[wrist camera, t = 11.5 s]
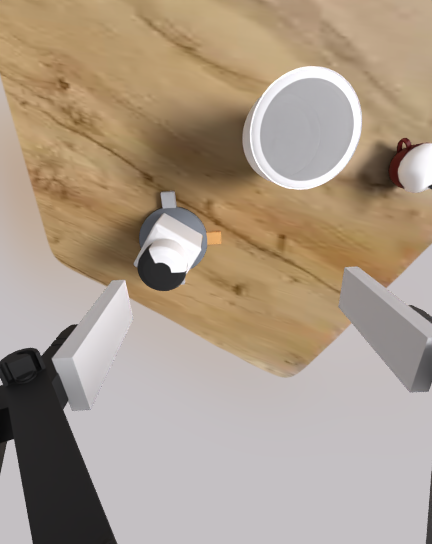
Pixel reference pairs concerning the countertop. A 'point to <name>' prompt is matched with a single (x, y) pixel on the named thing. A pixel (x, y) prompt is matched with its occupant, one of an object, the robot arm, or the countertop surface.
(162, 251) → the medicine bottle
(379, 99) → the countertop surface
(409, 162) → the cocoa
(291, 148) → the jar
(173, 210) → the pad
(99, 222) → the countertop surface
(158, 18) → the countertop surface
